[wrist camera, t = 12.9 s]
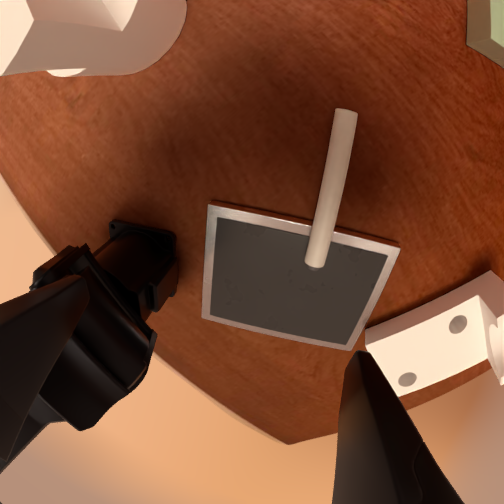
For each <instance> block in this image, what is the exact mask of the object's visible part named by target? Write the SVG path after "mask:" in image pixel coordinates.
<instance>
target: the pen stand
mask: <svg viewBox="0 0 504 504" xmlns="http://www.w3.org/2000/svg"><path fill="white" fill-rule="evenodd" d="M466 45H468V46H469V47H471V48H473V49H475V50H476V51H478V52H480V53H481V54H483V55H485V56H486V57H488V58H489V59H491V60H492V61H494V62H495V63H497V64H498V65H500V66H501V67H503V68H504V0H467V41H466Z"/></svg>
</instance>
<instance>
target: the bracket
mask: <svg viewBox="0 0 504 504" xmlns="http://www.w3.org/2000/svg"><path fill="white" fill-rule="evenodd" d="M365 346H366V348H367V351H368V352H370V353H371V354H372V356H373V358H374V359H375V361H376V362H377V364H378V366H379V367H380V369H381V370H382V372H383V374H384V375H385V377H386V378H387V380H388V382H389V383H390V385H391V386H392V388H393V390H394V391H395V393H396V395H397V396H398V397H399V396H402V395H405V394H408V393H410V392H413V391H416V390H419V389H421V388H424V387H426V386H429V385H431V384H434V383H436V382H439V381H441V380H443V379H446V378H448V377H450V376H452V375H455V374H457V373H459V372H461V371H463V370H465V369H467V368H469V367H471V366H473V365H475V364H477V363H479V362H481V361H483V360H485V359H487V358H488V360H489V362H490V364H491V366H492V368H493V370H494V372H495V374H496V376H497V378H498V380H499V382H500V385H503V384H504V282H503V281H502V280H501V279H500V278H499V277H498V276H497V275H496V274H495V273H493V272H492V271H491V270H489V271H488V272H486V273H484V274H482V275H481V276H479V277H477V278H475V279H473V280H472V281H470V282H468V283H466V284H464V285H462V286H460V287H459V288H457V289H455V290H453V291H451V292H449V293H447V294H445V295H443V296H441V297H439V298H437V299H435V300H433V301H430V302H428V303H426V304H424V305H422V306H420V307H418V308H415V309H413V310H411V311H409V312H406V313H404V314H402V315H400V316H397V317H395V318H393V319H390V320H388V321H385V322H383V323H380V324H378V325H376V326H373V327H370V328H368V329H365Z"/></svg>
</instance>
